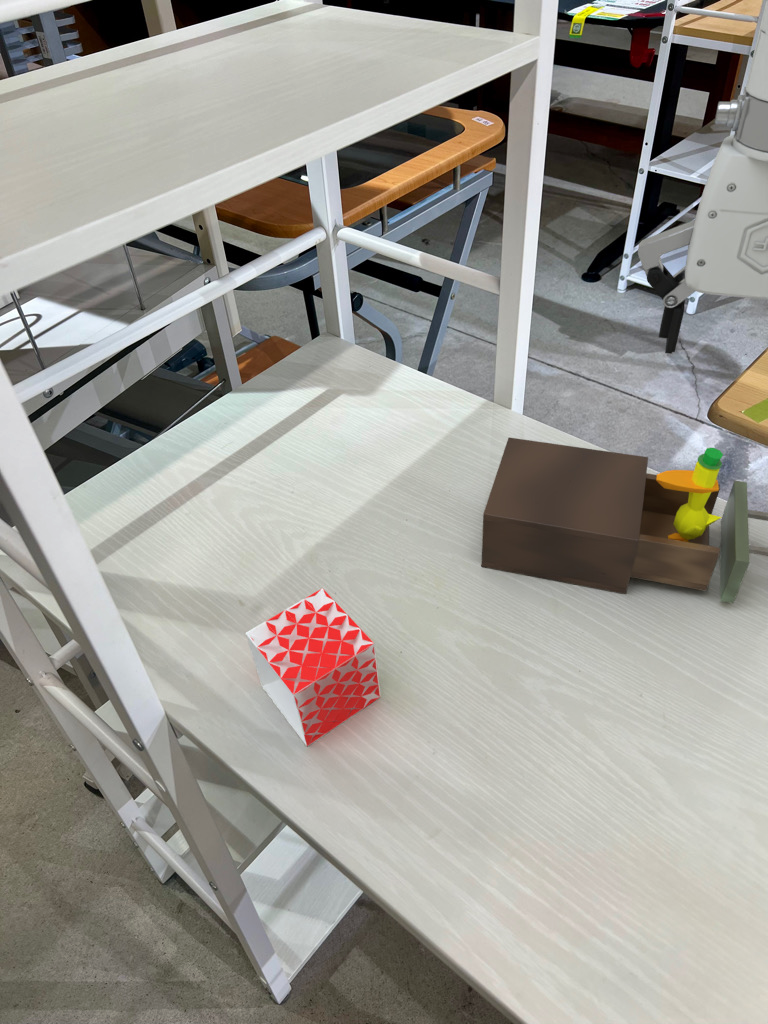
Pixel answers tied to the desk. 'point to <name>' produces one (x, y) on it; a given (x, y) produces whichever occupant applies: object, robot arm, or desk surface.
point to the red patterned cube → (315, 665)
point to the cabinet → (565, 514)
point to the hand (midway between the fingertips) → (732, 351)
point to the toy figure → (694, 494)
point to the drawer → (694, 541)
